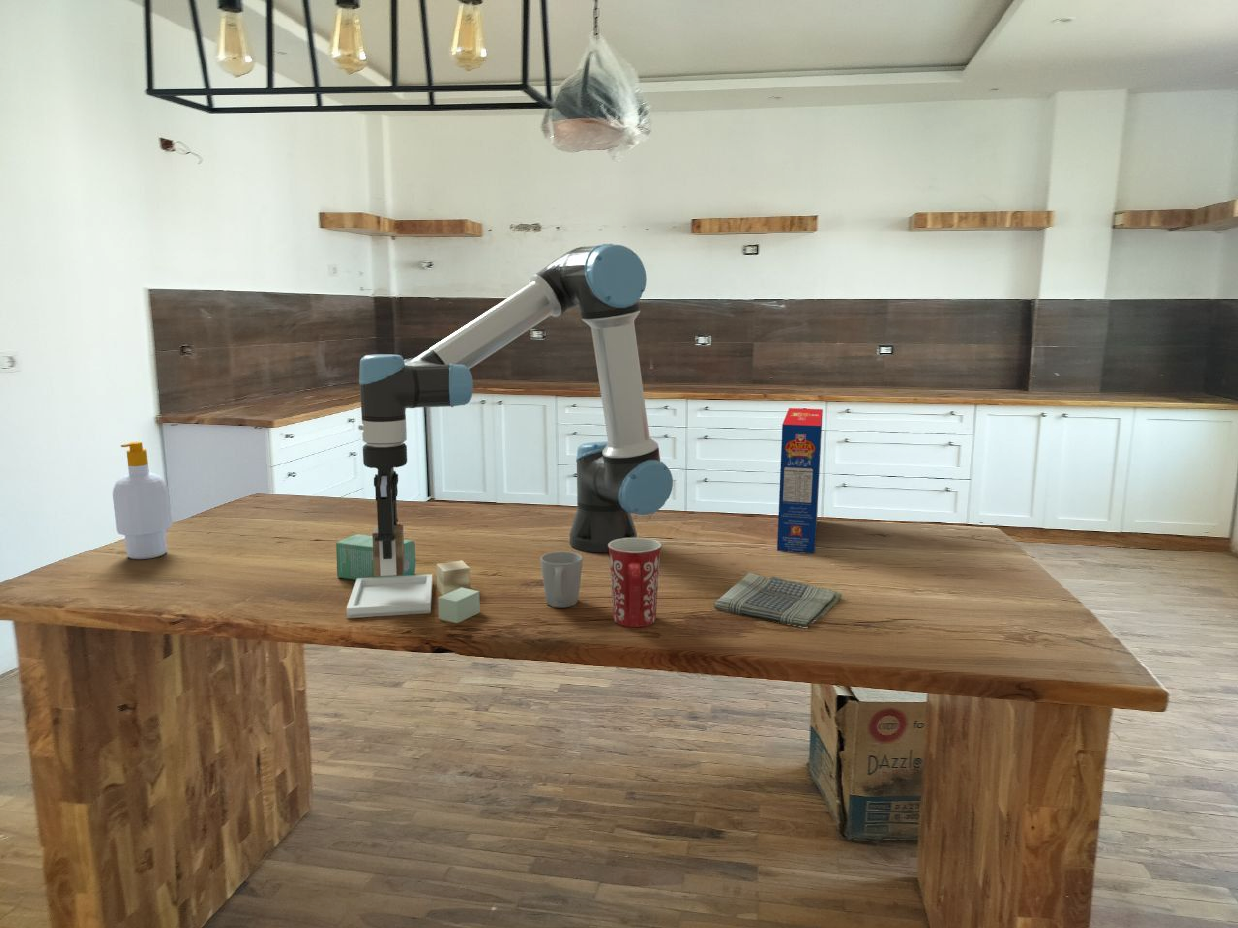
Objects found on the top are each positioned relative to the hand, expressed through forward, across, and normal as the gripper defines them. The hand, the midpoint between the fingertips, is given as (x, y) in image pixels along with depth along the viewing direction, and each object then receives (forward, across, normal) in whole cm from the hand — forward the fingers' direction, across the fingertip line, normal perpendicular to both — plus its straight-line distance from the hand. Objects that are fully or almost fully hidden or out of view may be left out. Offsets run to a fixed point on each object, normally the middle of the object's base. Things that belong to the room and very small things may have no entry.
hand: (389, 569), depth 154 cm
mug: (+6, +19, +41) cm, 46 cm away
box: (+6, -14, -4) cm, 16 cm away
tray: (+6, 0, 0) cm, 6 cm away
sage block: (+6, +10, +12) cm, 17 cm away
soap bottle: (+6, -37, -53) cm, 65 cm away
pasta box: (+5, -28, +90) cm, 95 cm away
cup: (+6, +8, +30) cm, 32 cm away
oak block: (+6, -3, +11) cm, 13 cm away
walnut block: (0, 0, 0) cm, 0 cm away
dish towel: (+6, +14, +69) cm, 71 cm away
